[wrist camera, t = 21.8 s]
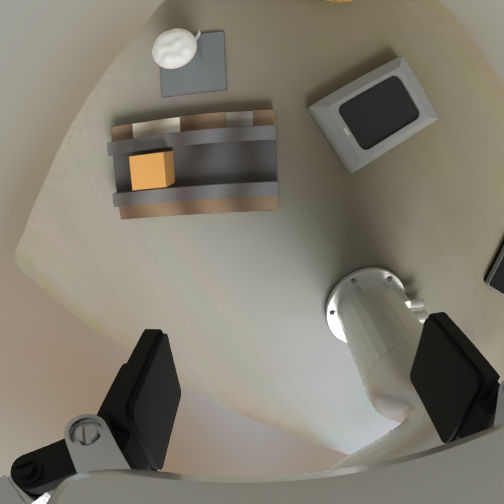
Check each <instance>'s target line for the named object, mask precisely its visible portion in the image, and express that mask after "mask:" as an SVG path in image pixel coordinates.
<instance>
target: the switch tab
mask: <svg viewBox="0 0 504 504" xmlns="http://www.w3.org/2000/svg"><path fill="white" fill-rule="evenodd" d="M129 161H130V172H131V181H132V190H142V189H152V188H162V187H167V186H169V185H171V184H173V183H175V172H174V159H173V151H168V152H159V153H151V154H143V155H137V156H130V157H129Z"/></svg>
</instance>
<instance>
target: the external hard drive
mask: <svg viewBox="0 0 504 504" xmlns="http://www.w3.org/2000/svg"><path fill="white" fill-rule="evenodd" d="M484 282H485V283H486V284H487V285H488V286H490V287H491V288H493V289H494V290H495V291H498V292H499V293H501V294H502V295H504V241H503V243H502V245H501V247H500V249H499V251H498V253H497V255H496V257H495V259H494V261H493V263H492V265H491V267H490V269H489V271H488V273H487V275H486V276H485V278H484Z"/></svg>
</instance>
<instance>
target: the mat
mask: <svg viewBox="0 0 504 504" xmlns="http://www.w3.org/2000/svg"><path fill="white" fill-rule="evenodd" d="M196 35H197V34H196ZM196 35H193V36H194V37H196ZM196 42H197V46H198V50H199V52H200V55H201V57H202V60H203V66H202V70H201V71H200V72H199V73H198V75H196V76H193V77H190V78H188V77H185V76H181V75H179V74H177V73H175V72H173V71H171V70H168V69H166V68H163V67H161V88H162V97H169V96H177V95H184V94H192V93H202V92H212V91H223V90H227V86H226V64H225V40H224V32H213V33H204V34H200V36H199V38H198V40H197V41H196Z"/></svg>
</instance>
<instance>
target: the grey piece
mask: <svg viewBox="0 0 504 504" xmlns="http://www.w3.org/2000/svg"><path fill="white" fill-rule="evenodd" d="M111 129H112V142H110V143H107V147H108V156H110V155H113V158H114V168H115V178H116V187H117V192H116V193H114V194H112V195H113V203H114V207H118V206H119V209H120V216H121V219H133V218H146V217H159V216H174V215H189V214H205V213H224V212H244V211H268V210H278V196H279V191H278V181H277V157H276V140H277V137H276V125H275V112H274V110H248V111H231V112H218V113H206V114H196V115H187V116H178V117H171V118H163V119H156V120H150V121H143V122H137V123H131V124H126V125H120V126H115V127H111ZM168 151H173V159H174V172H175V183H173V184H171V185H169V186H167V187H162V188H152V189H142V190H132V181H131V172H130V161H129V157H130V156H137V155H143V154H151V153H159V152H168Z"/></svg>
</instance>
